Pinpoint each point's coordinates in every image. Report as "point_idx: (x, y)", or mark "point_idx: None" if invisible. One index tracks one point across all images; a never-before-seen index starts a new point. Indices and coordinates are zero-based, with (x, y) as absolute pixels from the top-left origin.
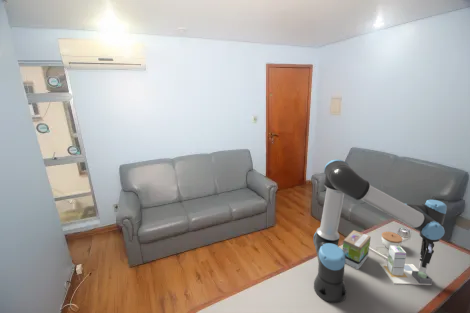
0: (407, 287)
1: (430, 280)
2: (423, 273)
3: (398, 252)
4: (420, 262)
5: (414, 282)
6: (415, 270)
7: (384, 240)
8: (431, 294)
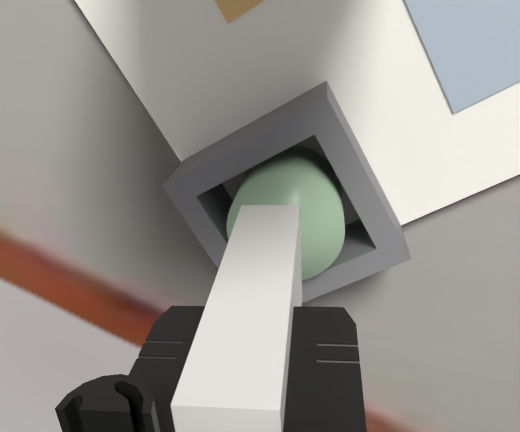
0: (29, 12)
1: None
2: (310, 248)
3: None
4: (209, 331)
5: (168, 105)
6: (471, 141)
7: None
8: (96, 250)
